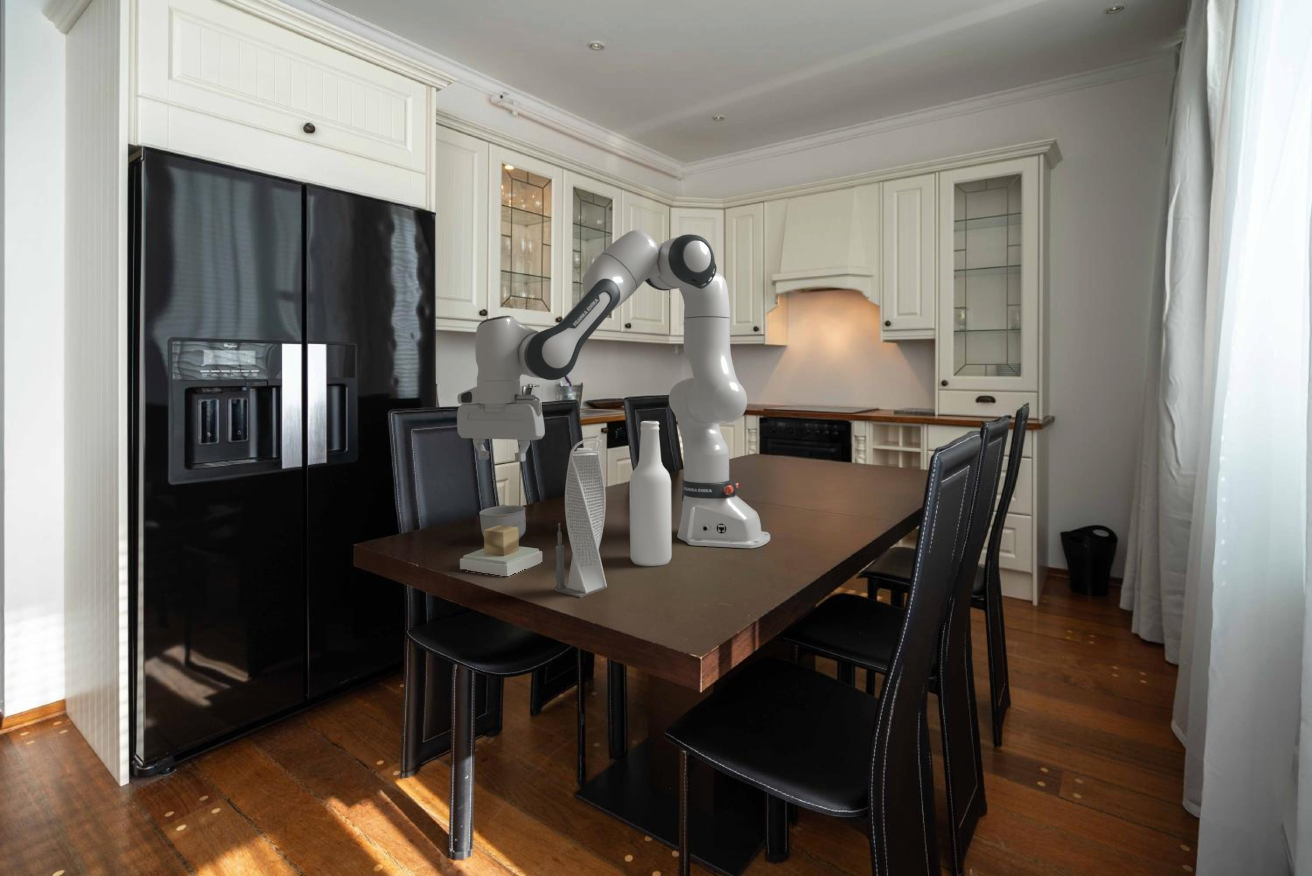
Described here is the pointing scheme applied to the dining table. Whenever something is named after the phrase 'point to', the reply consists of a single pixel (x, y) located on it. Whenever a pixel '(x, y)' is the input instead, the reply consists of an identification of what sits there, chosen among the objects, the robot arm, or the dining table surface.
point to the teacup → (504, 517)
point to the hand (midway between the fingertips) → (501, 460)
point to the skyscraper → (583, 523)
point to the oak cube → (501, 540)
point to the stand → (501, 561)
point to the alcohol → (650, 503)
